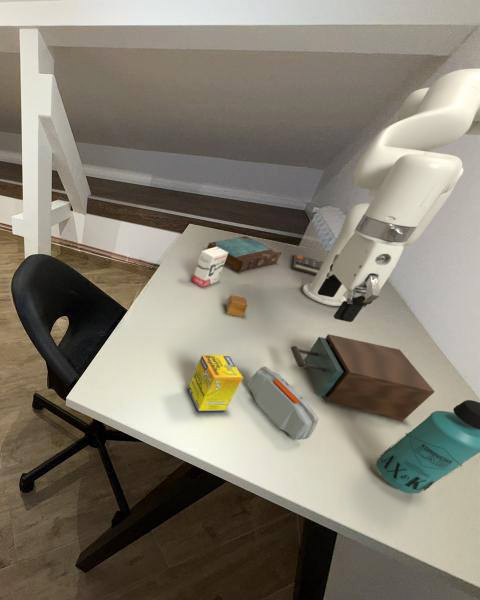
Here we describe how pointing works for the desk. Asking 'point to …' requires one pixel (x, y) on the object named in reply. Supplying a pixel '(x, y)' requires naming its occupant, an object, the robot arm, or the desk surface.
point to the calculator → (306, 264)
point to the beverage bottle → (433, 448)
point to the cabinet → (376, 380)
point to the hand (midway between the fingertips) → (333, 306)
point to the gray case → (283, 404)
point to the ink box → (209, 266)
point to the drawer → (321, 365)
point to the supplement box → (214, 383)
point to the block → (236, 305)
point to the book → (246, 253)
